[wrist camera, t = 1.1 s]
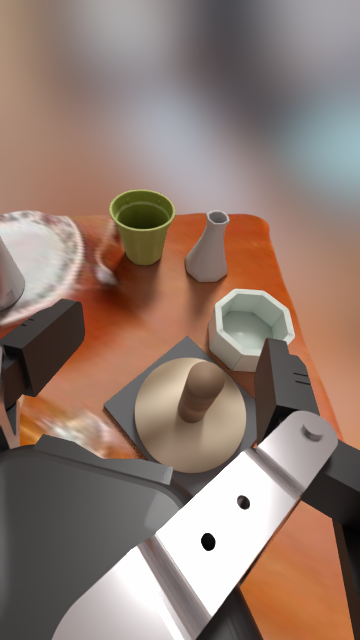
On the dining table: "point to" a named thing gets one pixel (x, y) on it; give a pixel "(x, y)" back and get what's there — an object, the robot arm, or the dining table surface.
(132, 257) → the plant pot
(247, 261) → the dining table surface
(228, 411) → the lid
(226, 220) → the flask
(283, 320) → the bowl
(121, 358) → the dining table surface
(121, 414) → the mat
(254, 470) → the robot arm
